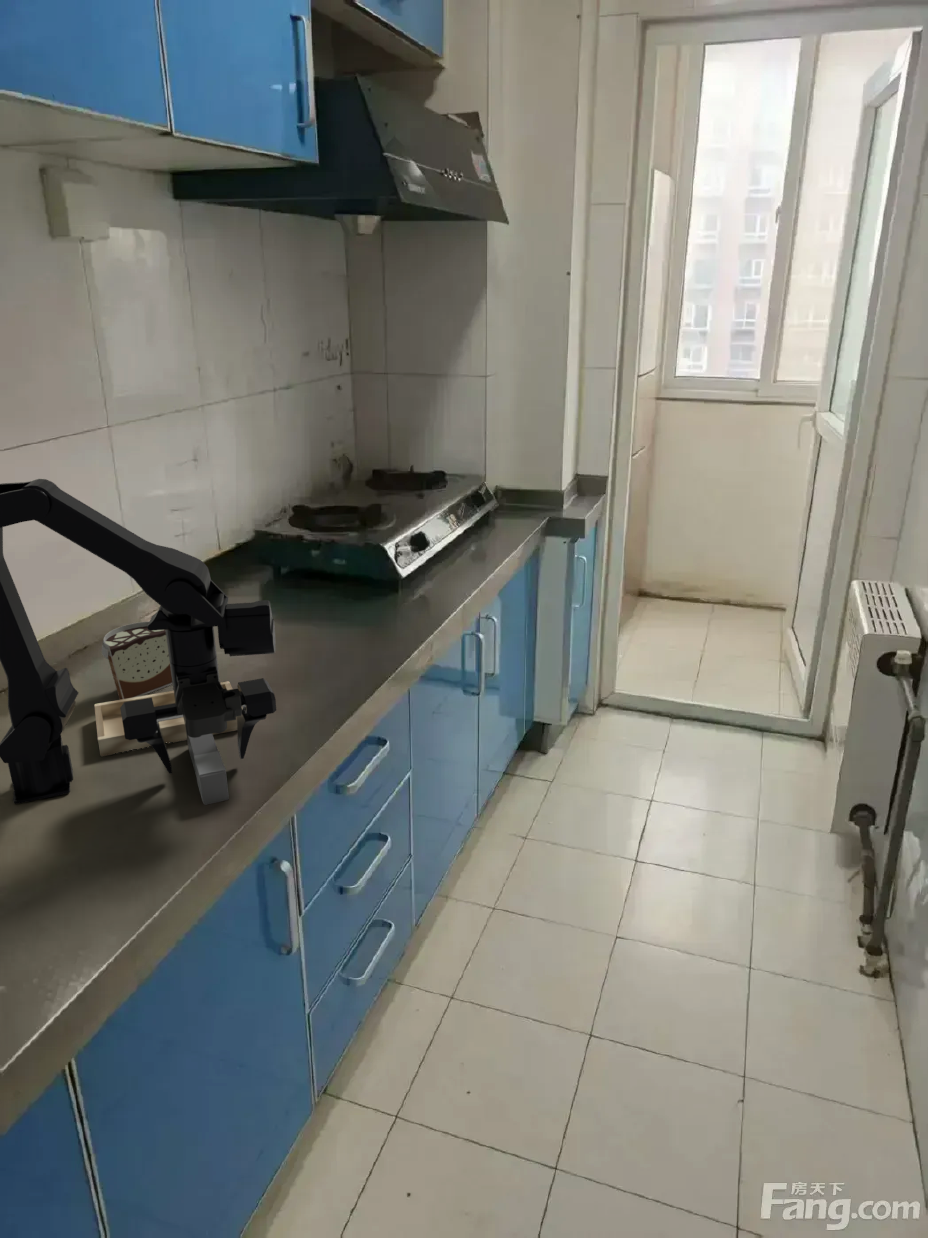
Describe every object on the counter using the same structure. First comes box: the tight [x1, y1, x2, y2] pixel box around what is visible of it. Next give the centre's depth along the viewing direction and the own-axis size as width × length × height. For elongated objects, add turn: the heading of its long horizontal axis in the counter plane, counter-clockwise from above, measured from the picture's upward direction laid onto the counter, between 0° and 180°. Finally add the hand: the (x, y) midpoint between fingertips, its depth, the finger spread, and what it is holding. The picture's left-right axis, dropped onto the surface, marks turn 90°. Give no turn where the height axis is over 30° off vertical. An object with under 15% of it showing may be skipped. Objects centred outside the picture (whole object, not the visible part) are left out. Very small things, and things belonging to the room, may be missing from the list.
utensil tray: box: [94, 680, 237, 757], centre depth 126 cm, size 20×12×3 cm, turn 114°
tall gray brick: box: [186, 732, 230, 806], centre depth 113 cm, size 15×3×4 cm, turn 24°
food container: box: [101, 620, 173, 700], centre depth 136 cm, size 12×6×10 cm, turn 141°
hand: (206, 764), depth 113 cm, fingers open, 9 cm apart
